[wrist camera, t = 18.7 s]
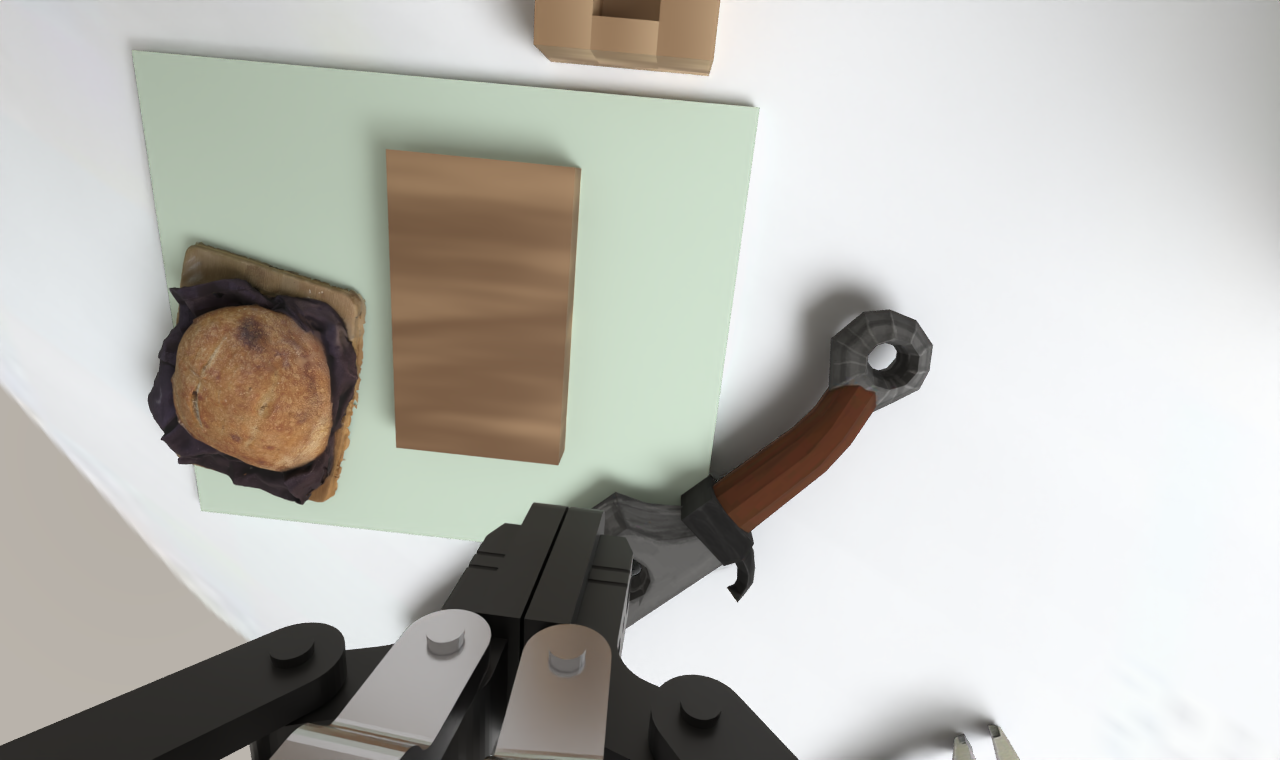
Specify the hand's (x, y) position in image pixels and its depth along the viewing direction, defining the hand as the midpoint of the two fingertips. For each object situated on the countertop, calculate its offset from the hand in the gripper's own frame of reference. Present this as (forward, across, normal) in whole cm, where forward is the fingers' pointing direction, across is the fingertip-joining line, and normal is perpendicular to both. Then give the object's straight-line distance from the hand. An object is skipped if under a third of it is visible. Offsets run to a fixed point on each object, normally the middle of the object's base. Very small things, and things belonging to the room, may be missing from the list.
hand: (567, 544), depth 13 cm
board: (+13, +6, +4) cm, 15 cm away
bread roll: (+14, +16, +2) cm, 21 cm away
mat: (+14, +8, 0) cm, 16 cm away
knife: (+14, -2, +9) cm, 17 cm away
